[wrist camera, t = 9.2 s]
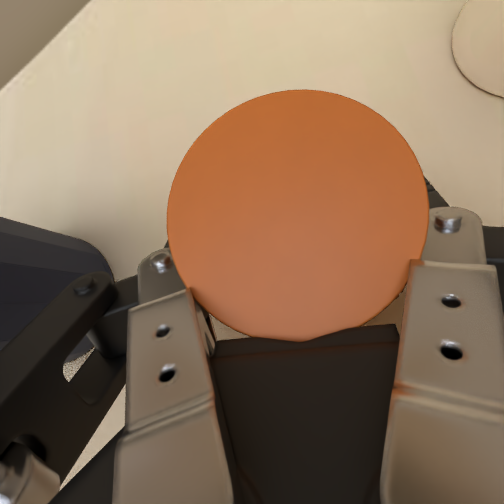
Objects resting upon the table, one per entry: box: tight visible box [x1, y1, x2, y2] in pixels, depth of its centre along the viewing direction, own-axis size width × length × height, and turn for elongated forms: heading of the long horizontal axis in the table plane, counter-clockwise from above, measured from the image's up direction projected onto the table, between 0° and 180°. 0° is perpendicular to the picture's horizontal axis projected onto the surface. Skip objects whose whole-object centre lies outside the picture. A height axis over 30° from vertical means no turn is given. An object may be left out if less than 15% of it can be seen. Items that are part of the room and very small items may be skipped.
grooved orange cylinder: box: [167, 90, 429, 342], centre depth 11 cm, size 5×5×10 cm
